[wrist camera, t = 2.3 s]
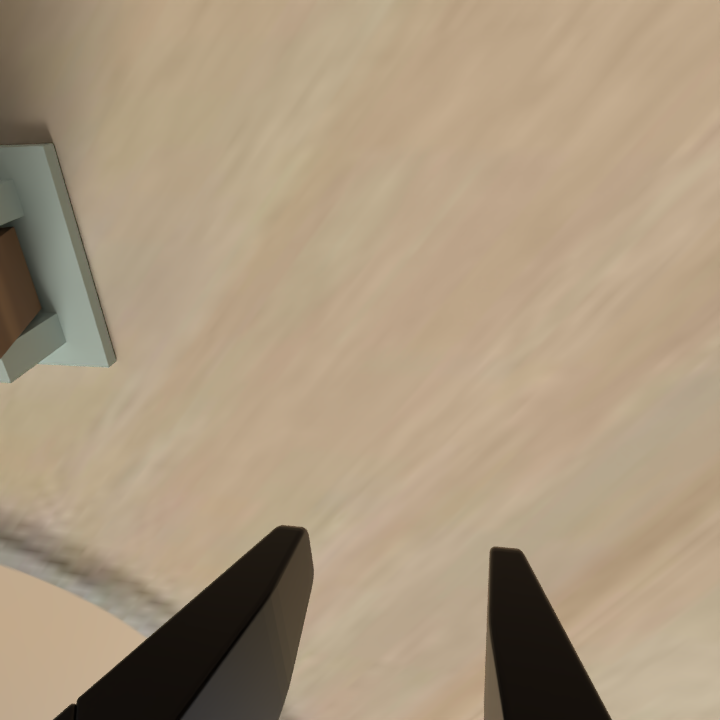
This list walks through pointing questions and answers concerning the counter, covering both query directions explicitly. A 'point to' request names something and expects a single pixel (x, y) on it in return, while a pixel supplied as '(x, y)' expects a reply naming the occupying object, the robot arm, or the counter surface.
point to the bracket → (50, 266)
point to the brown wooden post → (14, 290)
